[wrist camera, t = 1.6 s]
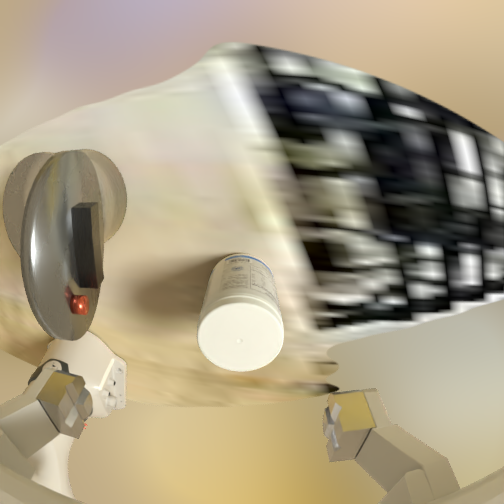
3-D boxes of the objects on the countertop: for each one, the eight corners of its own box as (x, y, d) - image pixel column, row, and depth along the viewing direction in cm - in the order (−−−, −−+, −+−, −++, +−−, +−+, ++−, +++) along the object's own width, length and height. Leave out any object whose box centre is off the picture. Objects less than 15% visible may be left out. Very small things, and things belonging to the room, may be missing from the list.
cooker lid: (100, 283, 33) (124, 284, 33) (54, 379, 18) (87, 384, 18) (94, 146, 27) (120, 145, 28) (9, 160, 12) (49, 156, 13)
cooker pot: (132, 282, 44) (104, 319, 34) (54, 271, 44) (19, 301, 34) (129, 145, 37) (92, 148, 27) (45, 150, 37) (0, 157, 26)
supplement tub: (242, 319, 47) (240, 385, 33) (196, 281, 44) (176, 341, 31) (288, 279, 44) (303, 339, 31) (241, 237, 42) (237, 284, 28)
